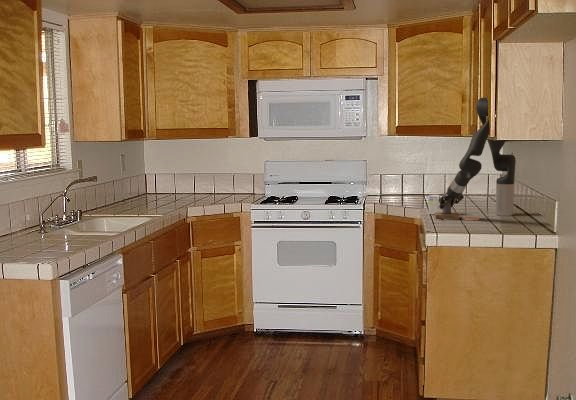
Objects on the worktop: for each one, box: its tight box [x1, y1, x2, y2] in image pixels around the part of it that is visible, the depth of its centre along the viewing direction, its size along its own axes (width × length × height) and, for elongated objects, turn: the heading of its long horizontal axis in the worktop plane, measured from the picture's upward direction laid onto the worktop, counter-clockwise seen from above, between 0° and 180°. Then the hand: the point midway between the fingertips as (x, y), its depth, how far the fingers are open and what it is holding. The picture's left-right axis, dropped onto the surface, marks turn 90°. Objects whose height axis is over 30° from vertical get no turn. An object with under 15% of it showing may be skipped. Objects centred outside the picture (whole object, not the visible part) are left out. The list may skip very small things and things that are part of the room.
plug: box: [441, 192, 452, 214], centre depth 340 cm, size 5×5×13 cm
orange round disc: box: [461, 216, 480, 222], centre depth 335 cm, size 9×9×1 cm
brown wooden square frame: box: [434, 211, 460, 221], centre depth 340 cm, size 12×12×2 cm
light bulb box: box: [428, 194, 443, 215], centre depth 356 cm, size 11×7×11 cm, turn 59°
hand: (444, 207), depth 341 cm, fingers closed on plug, 4 cm apart
